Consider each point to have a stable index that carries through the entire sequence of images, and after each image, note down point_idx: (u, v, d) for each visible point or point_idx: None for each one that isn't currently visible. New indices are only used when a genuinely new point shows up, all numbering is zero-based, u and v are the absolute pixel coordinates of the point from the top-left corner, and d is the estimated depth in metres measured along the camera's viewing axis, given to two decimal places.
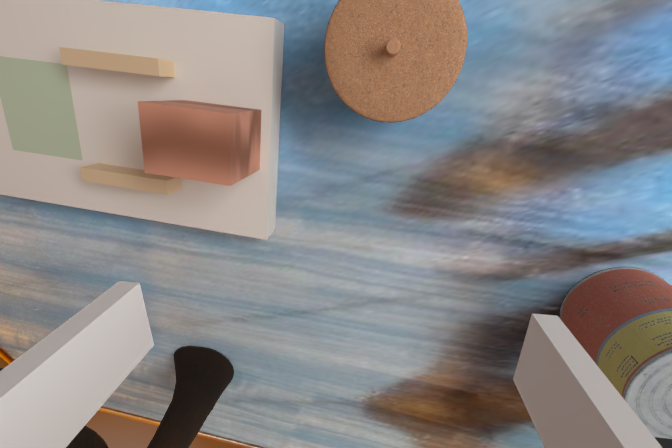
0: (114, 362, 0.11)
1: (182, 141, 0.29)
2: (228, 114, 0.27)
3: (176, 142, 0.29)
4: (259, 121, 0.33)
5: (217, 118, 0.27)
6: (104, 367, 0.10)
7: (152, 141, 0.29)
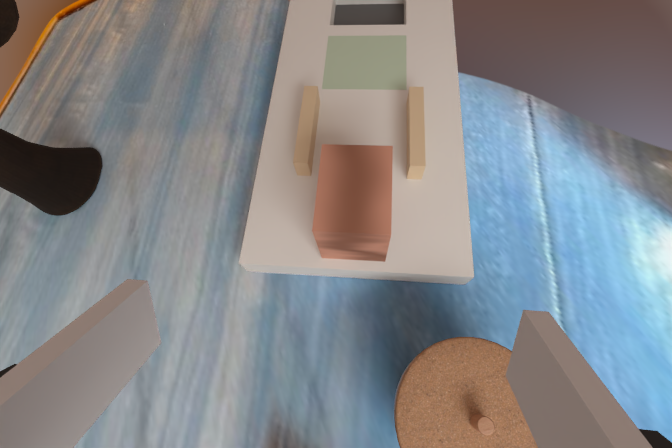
0: (123, 359, 0.11)
1: (357, 184, 0.27)
2: (390, 233, 0.25)
3: (356, 178, 0.27)
4: (373, 259, 0.31)
5: (385, 221, 0.26)
6: (114, 364, 0.10)
7: (354, 155, 0.28)
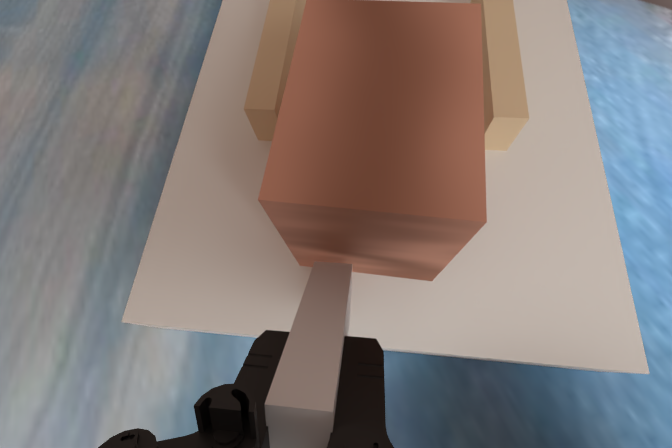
0: None
1: (390, 86, 0.10)
2: (482, 217, 0.09)
3: (387, 73, 0.11)
4: (408, 275, 0.15)
5: (466, 182, 0.09)
6: None
7: (385, 21, 0.11)
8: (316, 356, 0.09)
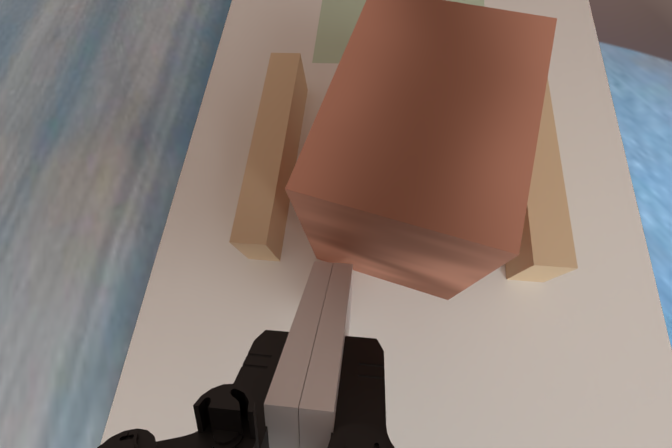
0: None
1: (442, 93, 0.10)
2: (515, 249, 0.08)
3: (441, 79, 0.10)
4: (424, 290, 0.14)
5: (505, 208, 0.08)
6: None
7: (449, 23, 0.11)
8: (317, 356, 0.09)
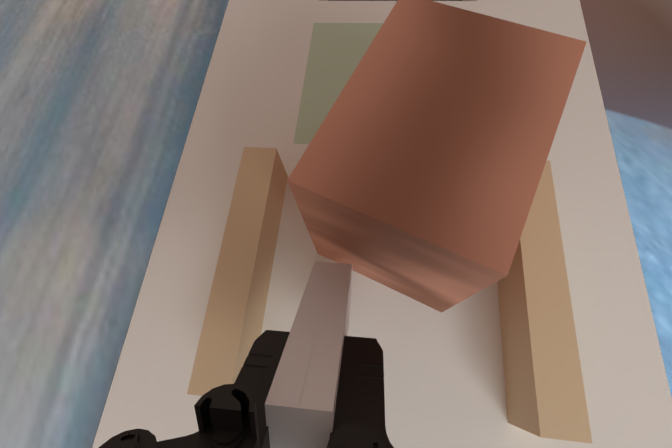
0: None
1: (456, 104, 0.10)
2: (505, 269, 0.08)
3: (457, 90, 0.10)
4: (419, 299, 0.14)
5: (501, 227, 0.08)
6: None
7: (474, 36, 0.11)
8: (316, 356, 0.09)
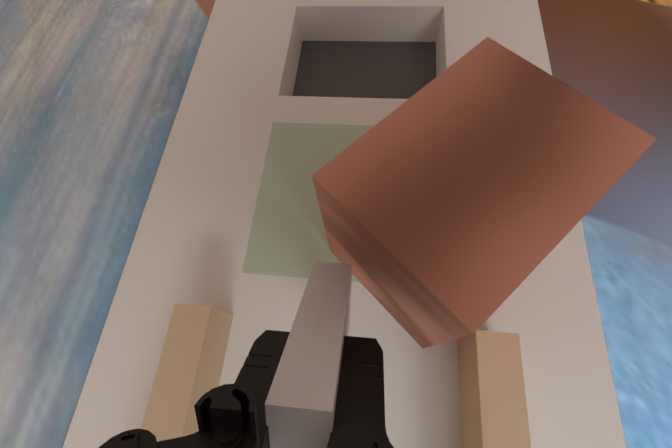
0: None
1: (494, 158, 0.10)
2: (473, 327, 0.08)
3: (501, 145, 0.10)
4: (405, 327, 0.14)
5: (487, 287, 0.08)
6: None
7: (541, 98, 0.11)
8: (316, 356, 0.09)
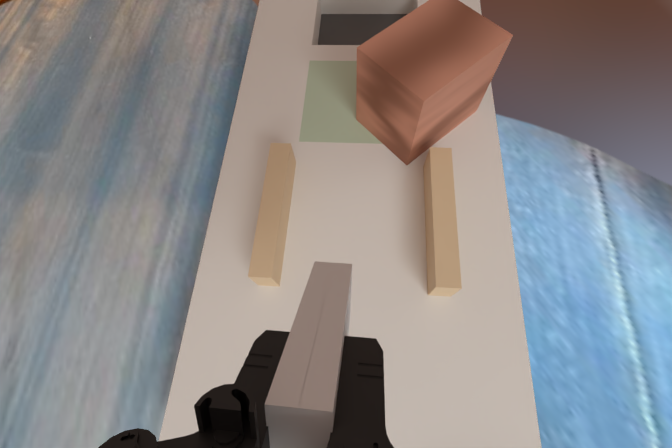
0: None
1: (439, 41, 0.22)
2: (424, 99, 0.20)
3: (443, 36, 0.22)
4: (397, 153, 0.26)
5: (430, 86, 0.20)
6: None
7: (464, 18, 0.23)
8: (316, 356, 0.09)
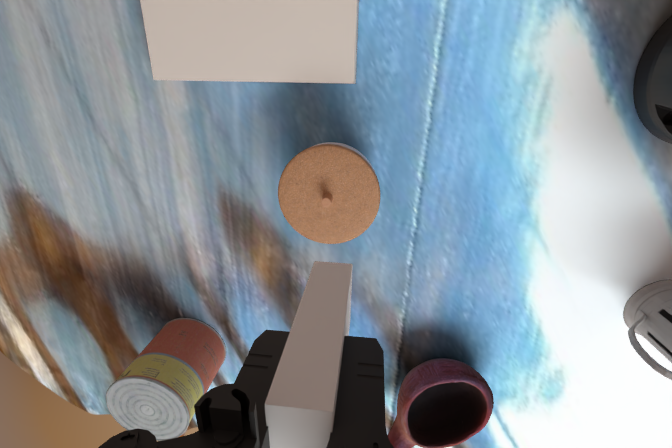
0: None
1: None
2: None
3: None
4: None
5: None
6: None
7: None
8: (316, 356, 0.09)
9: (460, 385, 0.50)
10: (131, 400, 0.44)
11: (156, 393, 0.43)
